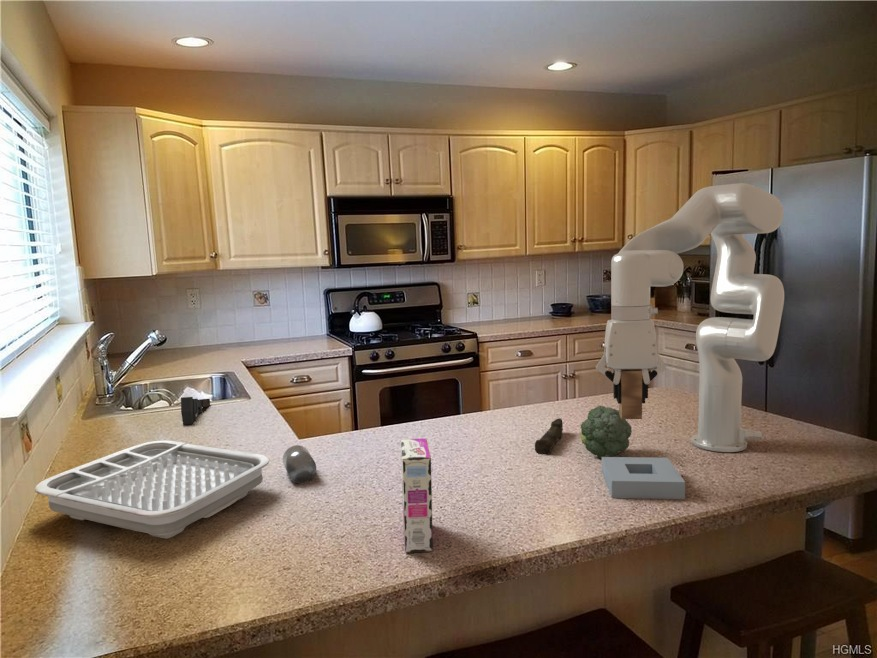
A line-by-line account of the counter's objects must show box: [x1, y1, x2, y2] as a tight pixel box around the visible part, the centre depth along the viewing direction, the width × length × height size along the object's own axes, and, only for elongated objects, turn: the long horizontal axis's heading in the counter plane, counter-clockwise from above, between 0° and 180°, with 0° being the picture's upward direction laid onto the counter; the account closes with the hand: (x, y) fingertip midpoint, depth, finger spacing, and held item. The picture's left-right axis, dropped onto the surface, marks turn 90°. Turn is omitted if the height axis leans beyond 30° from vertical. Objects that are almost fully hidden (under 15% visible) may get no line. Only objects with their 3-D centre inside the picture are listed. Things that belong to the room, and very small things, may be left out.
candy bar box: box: [400, 438, 434, 554], centre depth 106 cm, size 11×5×16 cm, turn 5°
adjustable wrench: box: [180, 396, 211, 426], centre depth 194 cm, size 8×3×25 cm
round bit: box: [282, 444, 317, 484], centre depth 138 cm, size 6×6×8 cm
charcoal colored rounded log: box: [534, 418, 564, 455], centre depth 156 cm, size 19×4×5 cm, turn 153°
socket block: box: [601, 456, 686, 500], centre depth 127 cm, size 14×14×4 cm
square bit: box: [618, 370, 643, 420], centre depth 126 cm, size 4×4×10 cm
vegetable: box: [579, 405, 633, 459], centre depth 148 cm, size 12×13×15 cm
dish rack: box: [34, 439, 270, 539], centre depth 124 cm, size 32×37×8 cm
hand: (630, 400), depth 126 cm, fingers closed on square bit, 4 cm apart
